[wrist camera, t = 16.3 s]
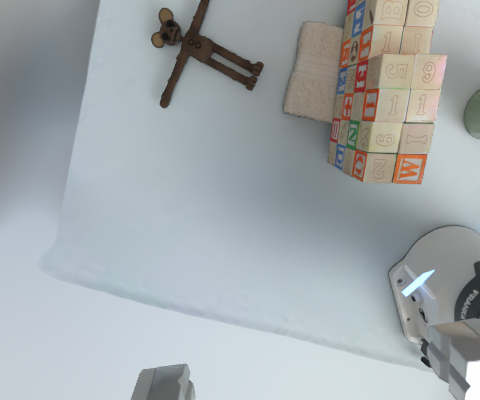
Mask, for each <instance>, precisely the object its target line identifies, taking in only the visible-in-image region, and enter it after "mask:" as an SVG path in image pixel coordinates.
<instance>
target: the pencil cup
mask: <svg viewBox="0 0 480 400" xmlns="http://www.w3.org/2000/svg"><path fill="white" fill-rule="evenodd" d="M464 124H465V127H466V129H467V131H468V132H469V134H470V135H472V136H473V137H475V138H477V139H480V90H479V91H478V92H476V93H475V94H474V95H473V96H472V98H471V99H470V100H469V102H468V104H467V106H466V109H465V112H464Z"/></svg>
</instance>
